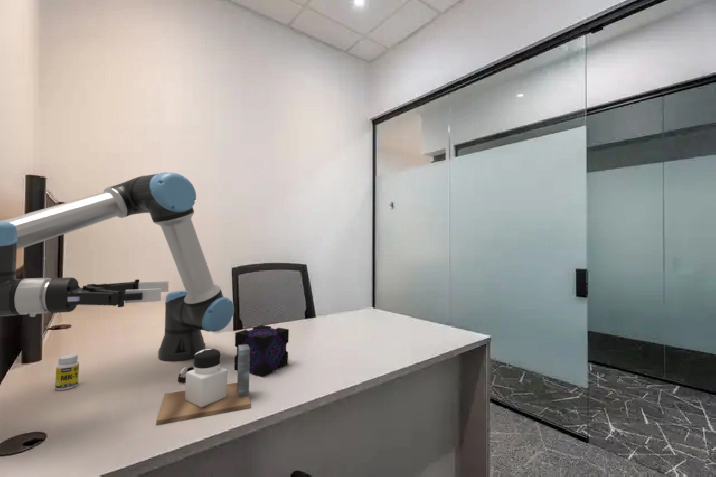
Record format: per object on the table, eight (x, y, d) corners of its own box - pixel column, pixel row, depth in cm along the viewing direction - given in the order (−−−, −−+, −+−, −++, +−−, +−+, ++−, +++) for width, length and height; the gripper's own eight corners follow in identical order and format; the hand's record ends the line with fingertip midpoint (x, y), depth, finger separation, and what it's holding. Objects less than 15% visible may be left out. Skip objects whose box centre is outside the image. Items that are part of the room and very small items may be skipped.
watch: (187, 374, 100) (188, 362, 100) (202, 374, 100) (203, 362, 100) (173, 384, 92) (173, 372, 92) (189, 385, 92) (189, 372, 92)
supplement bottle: (58, 392, 86) (59, 360, 86) (52, 387, 88) (53, 357, 88) (81, 385, 90) (82, 355, 90) (74, 381, 92) (75, 352, 92)
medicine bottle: (227, 397, 83) (228, 350, 83) (201, 408, 77) (202, 358, 77) (210, 389, 87) (212, 345, 87) (184, 400, 81) (186, 352, 81)
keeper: (156, 425, 71) (158, 366, 72) (164, 397, 84) (166, 347, 84) (250, 407, 80) (251, 355, 80) (245, 385, 92) (246, 339, 93)
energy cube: (260, 358, 114) (261, 324, 114) (287, 364, 109) (288, 329, 109) (234, 370, 103) (235, 332, 103) (262, 377, 98) (263, 338, 98)
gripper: (73, 302, 81) (170, 297, 89) (19, 327, 58) (156, 317, 67) (73, 272, 81) (171, 270, 90) (19, 285, 58) (157, 281, 67)
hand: (165, 290), depth 78 cm, fingers open, 13 cm apart
